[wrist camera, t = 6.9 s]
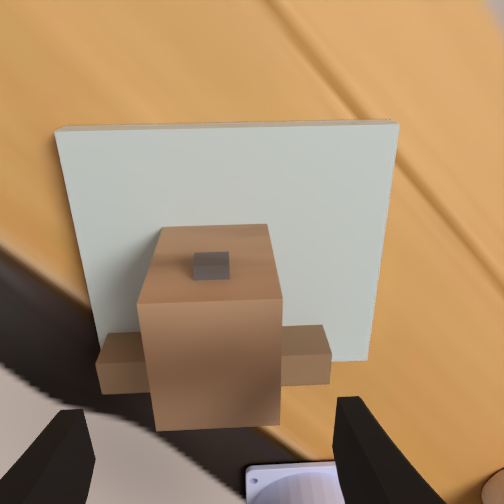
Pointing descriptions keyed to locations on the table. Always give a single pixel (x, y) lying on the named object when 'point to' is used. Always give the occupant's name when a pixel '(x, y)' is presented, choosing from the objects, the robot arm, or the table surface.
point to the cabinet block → (213, 328)
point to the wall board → (233, 213)
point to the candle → (494, 489)
